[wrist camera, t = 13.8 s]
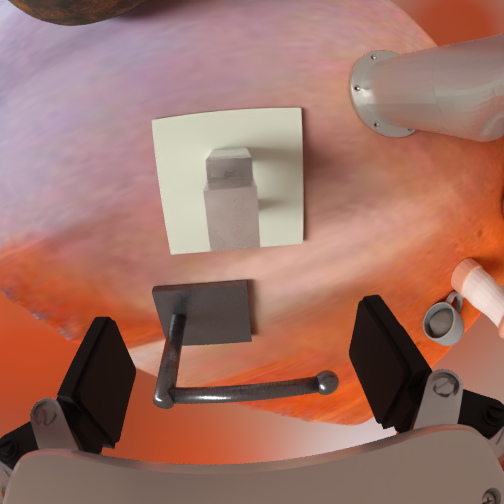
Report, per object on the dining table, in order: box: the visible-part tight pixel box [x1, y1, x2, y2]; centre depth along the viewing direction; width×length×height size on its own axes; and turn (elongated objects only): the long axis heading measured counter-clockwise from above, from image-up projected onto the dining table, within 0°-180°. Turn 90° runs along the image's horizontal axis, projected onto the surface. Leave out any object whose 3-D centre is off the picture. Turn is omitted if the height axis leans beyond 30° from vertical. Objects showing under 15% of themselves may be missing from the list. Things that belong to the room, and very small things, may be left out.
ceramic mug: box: [423, 291, 464, 346], centre depth 46 cm, size 11×8×8 cm
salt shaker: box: [451, 258, 504, 339], centre depth 37 cm, size 7×7×19 cm
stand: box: [152, 280, 339, 409], centre depth 36 cm, size 24×11×18 cm, turn 93°
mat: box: [152, 108, 303, 255], centre depth 35 cm, size 18×18×1 cm
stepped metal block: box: [203, 147, 260, 252], centre depth 28 cm, size 4×8×14 cm, turn 3°
